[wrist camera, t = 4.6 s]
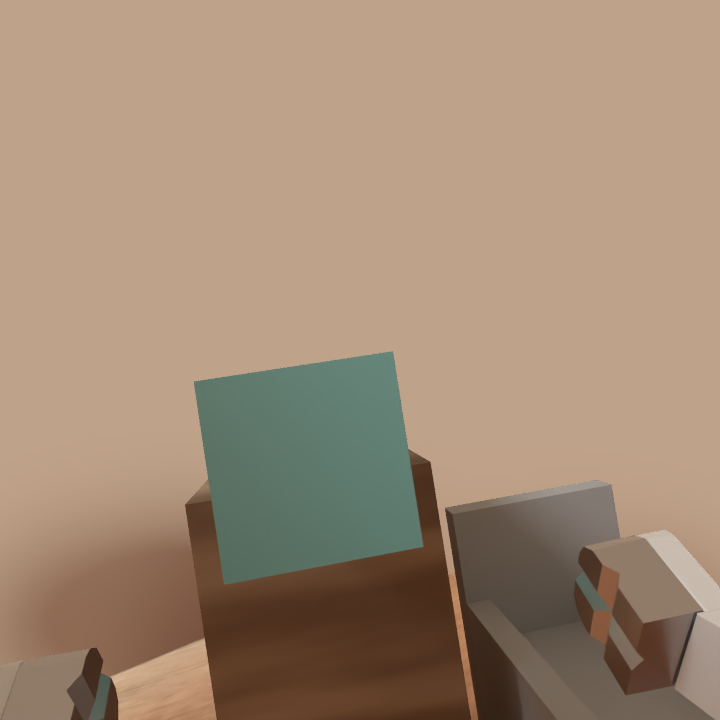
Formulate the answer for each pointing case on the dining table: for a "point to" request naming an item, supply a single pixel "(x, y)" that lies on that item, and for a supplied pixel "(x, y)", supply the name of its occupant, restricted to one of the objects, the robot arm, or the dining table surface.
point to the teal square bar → (307, 466)
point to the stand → (334, 630)
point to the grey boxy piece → (541, 609)
